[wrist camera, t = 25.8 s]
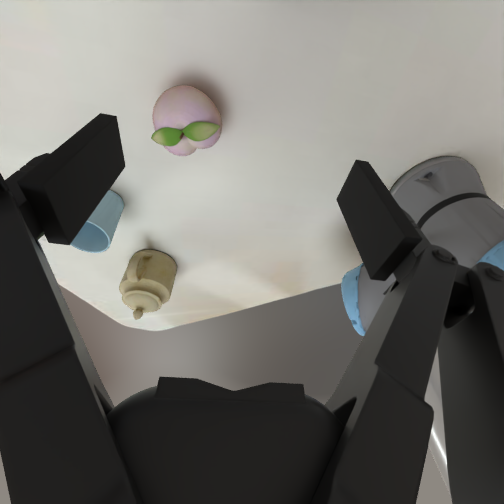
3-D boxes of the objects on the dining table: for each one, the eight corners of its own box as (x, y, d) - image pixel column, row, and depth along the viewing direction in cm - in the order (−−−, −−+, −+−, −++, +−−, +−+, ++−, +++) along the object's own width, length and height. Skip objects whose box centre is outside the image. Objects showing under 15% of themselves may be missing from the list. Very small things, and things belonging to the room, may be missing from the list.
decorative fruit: (207, 65, 35) (197, 84, 28) (231, 125, 40) (227, 153, 33) (149, 92, 37) (125, 115, 30) (178, 145, 43) (165, 175, 36)
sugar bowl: (108, 246, 59) (78, 302, 48) (147, 231, 56) (124, 287, 45) (150, 283, 68) (133, 336, 58) (186, 272, 65) (174, 326, 55)
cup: (96, 216, 52) (72, 252, 45) (80, 182, 47) (50, 217, 40) (133, 217, 53) (115, 253, 46) (122, 184, 47) (99, 219, 40)
